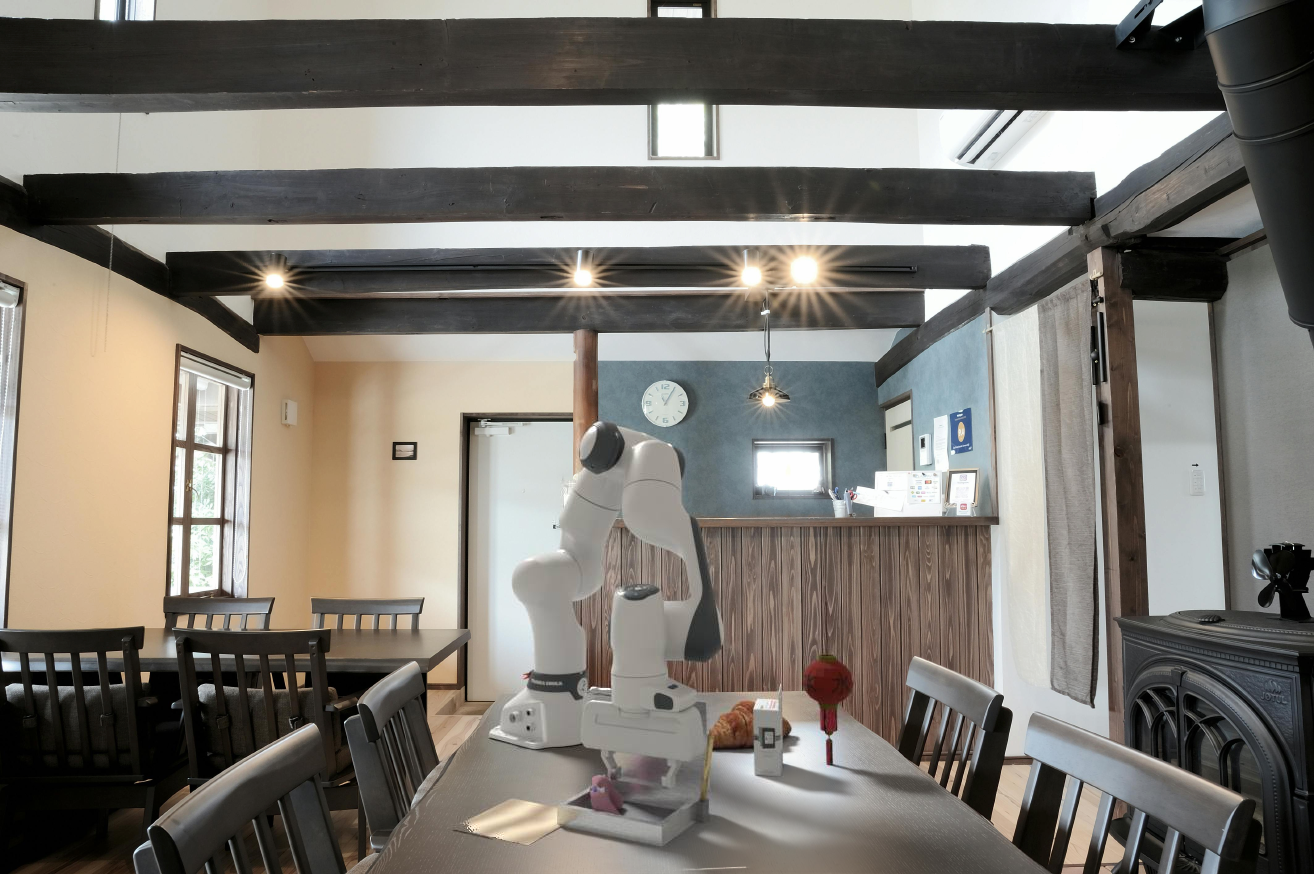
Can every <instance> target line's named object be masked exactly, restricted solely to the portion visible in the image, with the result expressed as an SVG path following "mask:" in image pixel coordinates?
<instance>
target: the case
mask: <svg viewBox="0 0 1314 874" xmlns="http://www.w3.org/2000/svg"><path fill="white" fill-rule="evenodd" d="M693 706H694V707H696V708H697V709H698V711H699V713H700V716H701V720H702V727H703V737H704V750H703V752H702V754H701V755H700V756H699V757H698V758H697V759H695V760H694V761H692V762H686V761H682V764H681V766H680V768H679V770H678V772H677V773H676V775H675V787H674V788H672V789H667V788H663V787H662V783H663V782H662V776H663V775H665V774H666V773H668V772H669V770H670V768H671V766H668V761H667V759H665V758H658V757H651V756H644V755H636V754H629V753H622V752H615V754H613V757H614V759H615V762H616V764H617V766H621V778H620V779H618V780H610V779H609V781H610V783H611V784H612V786H613V787H614V788H615V789H616V791H617V792H618V793H619V794H620V795H621V797H622V799H623V802H630V803H635V804H640V805H646V806H651V807H656V808H662V809H668V810H673V812H672V813H670V814H669V815H668V816H667V817H666V818H663V820H661V821H659V822H656V821H652V820H650V821H649V820H647V819H646V820H645V819H641V818H635V817H630V816H627V815H622V814H621V815H617V814H612V813H607V812H602V811H597V810H594V808H593V806H592V803H591V794H590V791H589V787H588V788H586V789H584V790H582V791H581V792H578V793H577V794H575V795H573V796H572V797H570V798H568V799H566V800H564V801H562V802H561V803H558V804H557V805H556V807H557V824H561V825H563V826H562V827H565V828H570V829H575V830H580V831H583V832H589V833H593V834H599V835H603V836H607V837H612V838H618V839H622V840H627V841H628V840H629V841H633V842H637V843H641V844H648V845H652V846H658V847H664V846H665V845H666V844H667V843H670V842H671V841H672V840H673V839H675V838H676V837H677V836H679V835H680V834H681V833H683V832H685V830H687V829H688V828H690V827H691V826H692V825H694V824H695V823H701V824H704V823H705V822H707V821H708V820H709V819H710V812H709V811H710V799H709V798H708V794H709V793H710V792H711V764H712V757H713V750H714V749H713V743H714V735H713V734H709V729H710V701H709V700H703V699H702V700H701V699H697V702H696V703H695V704H694V705H693ZM590 786H591V787H592V785H590Z"/></svg>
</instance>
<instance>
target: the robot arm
mask: <svg viewBox="0 0 1314 874" xmlns="http://www.w3.org/2000/svg"><path fill="white" fill-rule="evenodd" d="M578 458H579V461H580V463H581V465H582V467H583V468H582V470H581V471H580V473H579V474H578V477H577V478H576V481H575V483H574V485H573V487H572V489H571V491H570V493H569V496H568V498H567V500H566V502H565V504H564V506H563V508H562V511H561V513H560V515H559V517H558V524H559V528H560V529H561V538H560V543H559V546H558V547H557V549H556V550H555V551H553V552H547V553H545V552H544V553H538V554H535V555H532V556H530V557H528V558H526V559H524V560H522V561H520V562H519V563H518V564H517V565H516V567H515V568H514V570H513V573H512V576H511V587H512V591H513V593H514V596H515V597H516V599H518V601H519V602H521V604H522V605H523V606H524V608H525V610H526V613H527V615H528V618H529V622H530V625H531V630H532V638H533V640H532V641H533V643H532V644H533V669H531V670H530V671H528V672H526V673H523V674H522V676H524V677H523V678H522V679H523V680H527V683H526V686H525V688H524V689H522V690H521V691H520V692H519V693H517V695H515V696H514V697H513V698H511V699H510V700H509V701H508V702H507V703H505V705H504V706H503V708H502V710H501V711H502V712H501V715H500V723H499V725H498V726H494V728H492V729H490V731H489V733H488V737H489V738H491V739H495V740H499V741H503V742H506V743H510V744H512V745H517V746H521V747H524V748H527V749H532V750H538V749H539V750H540V749H546V748H554V747H555V748H557V747H558V748H559V747H567V746H568V747H569V746H575V745H580V744H583V747H585V748H588V749H595V750H600V758H601V759H602V761H603V762H604V763H603V764H604V765H605V767H606V768H607V778H608V779H610V780H618V779H620V778H621V766H617V764H616V762H615V759H614V757H613V754H615V752H622V753H629V754H636V755H644V756H651V757H658V758H665V759H667V761H668V766H671V768H670V770H669V772H668V773H666V774H665V775H663V776H662V782H663V783H662V787H663V788H667V789H672V788H674V787H675V775H676V773H677V772H678V770H679V768H680V766H681V764H682V761H686V762H692V761H694V760H695V759H697V758H698V757H699V756H700V755H701V754H702V752H703V750H704V737H703V727H702V720H701V716H700V713H699V711H698V709H697V708H696V707H694V706H693V705H694V704H695V703H696V702H697V700H699V698H698V692H697V690H696V689H695V688H692V687H690V686H689V685H685V684H683V683H681V682H678V681H677V680H675V679H673V678H672V677H670V676H668V675H669V673H668V665H667V661H685V662H692V663H702V664H703V663H704V664H706V663H707V662H709V661H710V660H712V658H714V657H715V656H716V655H717V654H718V653H719V652H720V651H721V650H722V648H723V647H722V646H723V644H724V640H725V639H724V637H725V636H724V635H725V633H724V631H725V630H724V623H723V619H722V615H721V613H720V611H719V608H718V605H717V603H716V598H715V594H714V586H713V581H712V576H711V570H710V566H709V559H708V555H707V550H706V546H705V543H704V538H703V533H702V530H701V529H702V528H701V526H700V523H699V521H698V519H697V518H696V517H694V516H693V515H689V513H688V512H687V510H686V509H685V507H684V505H683V500H682V493H683V491H682V488H683V487H682V481H683V479H684V476H685V472H686V458H685V455H684V454H683V452H682V451H681V450H680V449H679V448H677V447H675V446H674V445H672V443H667V442H664V441H662V440H661V439H658V438H657V437H655V436H652V435H650V434H647V433H645V432H642V431H641V432H640V431H636V430H634V429H631V428H628V427H623V426H620V425H619V426H618V425H617V424H615V423H613V422H609V421H596V422H594V423H593V424H592V425H590V426H589V427H588V428H587V430H586V431H585V433H584V435H583V437H582V438H581V441H580V446H579V450H578ZM620 511H621V516H622V521H623V522H624V524H625V526H626V528H627V529H628V531H629V532H630V533H631V534H633V536H635V537H636V538H638V539H639V540H640V541H643V542H645V544H646V543H647V544H649V545H652V546H656V547H659V548H661V549H663V550H666V551H669V552H671V553H673V554H675V555H677V556H678V557H680V558H681V559H682V560H683V561H684V563H685V569H686V575H687V579H688V586H689V591H690V597H689V598H687V599H686V600H664V596H663V592H662V589H660V587H658V586H656V585H653V584H649V583H631V584H628V585H623V586H621V587H619V588H618V589H616V590H615V592H614V595H613V600H612V606H611V607H612V608H611V615H610V616H609V617H608V621H607V623H608V624H607V639H608V640H607V641H608V642H607V643H608V647H609V649H610V650H611V651H612V657H613V658H612V660H613V661H612V665H611V669H610V670H611V671H610V685H611V686H610V687H609V688H608V687H599V686H591V687H590V688H589V670H588V668H587V656H586V655H587V653H586V651H587V644H586V642H587V640H586V639H587V637H586V635H587V634H586V631H585V629H584V628H583V626H582V625H581V624H579V622H578V620H577V617H576V614H575V608H574V604H573V603H574V602H576V601H583V600H584V599H586V598H589V597H590V596H593V595H594V594H595V593H596V592H597V591H599V590H600V589H601V587H602V586H603V584H604V582H605V581H604V580H605V575H606V574H605V568H604V564H603V556H604V551H605V546H606V542H607V540H608V537H609V535H610V533H611V531H612V529H613V526H614V524H615V522H616V520H617V517H618V516H619V513H620ZM588 688H589V689H588Z"/></svg>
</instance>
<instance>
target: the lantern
mask: <svg viewBox="0 0 1314 874" xmlns="http://www.w3.org/2000/svg"><path fill="white" fill-rule="evenodd" d="M827 602H828V601H825V603H824V604H825V606H824V607H825V609H824V610H825V638H826V640H825V644H826V645H825V647H826V649H825V650H826V651H825V652H826V653H822V654H821V653H819V654H818V655H817V656H818V657H817V659H816V660H814V661H812V662H811V663H809V664H808V666H807V667H806V669H804V673H803V678H802V683H803V688H804V691H805V692H806V694H807V695H808V696H809V698H810V699H812V700H814V701H815V702H817V704H818V707H819V719H820V720H819V725H820V728H819V729H820V731H821V732H824V733H825V735H826V736H828V738H826V740H825V749H826V750H825V753H826V754H825V755H826V756H825V757H826V759H825V762H826V765H829V766H832V765H834V749H833V747H834V746H833V742H834V741H833V740H832V738H831V736H832V735H833V734H834V733H835V732H837V731H838V706H839V704H840V703H841V702H843V701H845V700H847V699H848V697H849V696H850V694H851V693H852V691H853V686H854V681H853V677H852V672H851V670H850V669H849V668H848V667H847V666H846V664H845V663H843V662H840V661H839V660H838V658H837V655H835V654H832V653H829V652H828V651H829V649H828V648H829V647H828V645H829V643H828V608H827V607H828V605H827Z"/></svg>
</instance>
